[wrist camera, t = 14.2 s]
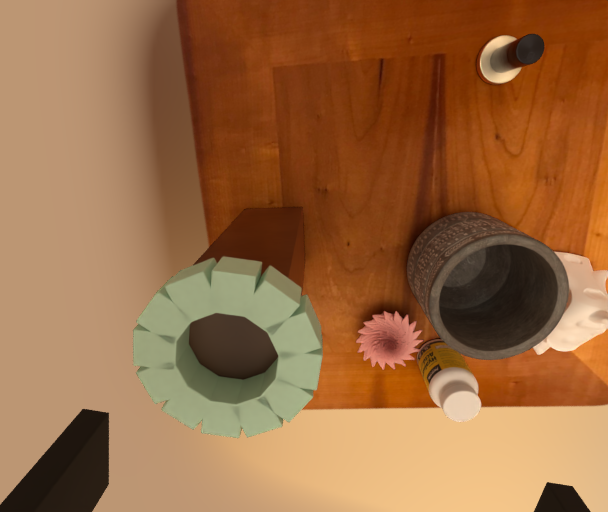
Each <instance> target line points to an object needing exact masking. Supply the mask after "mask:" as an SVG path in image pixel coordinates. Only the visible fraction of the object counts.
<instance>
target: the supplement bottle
mask: <svg viewBox="0 0 608 512" xmlns="http://www.w3.org/2000/svg"><path fill="white" fill-rule="evenodd" d="M420 350H421V351H419V352H418V354H417V363H418V366H419V369H420V371H421V374H422V376H423V379H424V381H425V384H426V386H427V389H428V392H429V394H430V396H431V398H432V400H433V401H434V403H435V404H437V405H438V406H439V407H441V408H442V409H443V411H444V413H445V415H446V416H447V417H448V418H449V419H451V420H453V421H458V422H464V421H468V420H471V419H473V418H474V417H475V416H476V415H477V414H478V413H479V411H480V409H481V401H480V399H479V397H478V395H477V394H478V383H477V381H476V379H475V377H474V375H473V373H472V372H471V370H470V368H469V367H468V365H467V364H466V362H465V360H464V359H463V357H462V355H461V354H460V353H459V352H457V351H455V350H454V349H452V348H451V347H449V346H448V345H447V344H446V343H445V342H444V341H443V340H442V339H435V340H431V341H429V342H427V343H425V344H424V345H423V346H422V347H421V348H420Z"/></svg>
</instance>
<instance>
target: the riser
mask: <svg viewBox="0 0 608 512" xmlns="http://www.w3.org/2000/svg"><path fill="white" fill-rule="evenodd" d="M223 256H224V257H231V258H238V259H246V260H253V261H260V262H262V270H261V276H262V274H263V273H264V272H265V271H266V269H267V268H268V267H269V266H270V265H271V266H272V267H274V268H275V269H276V270H278V271H279V272H280V273H282V274H283V275H285V276H286V277H287V278H289V279H290V280H291V281H293V282H294V283H296V284H297V285H298V286H300V287H301V288H303V278H304V268H305V246H304V222H303V207H284V208H255V209H244V210H243V212H242V213H241V214H240V215H239V216H238V217H237V218H236V219H235V220H234V221H233V222H232V223H231V225H230V226H229V227H228V228H227V229H226V230H225V231H224V232H223V233H222V234H221V235H220V236H219V237H218V239H217V240H216V241H215V242H214V243H213V244H212V245H211V246H210V247H209V248H208V249H207V251H206V252H205V253H204V254H203V255H202V256H201V257H200V258H199V259H198V260H197V261H196V262H195V264H194V265H196V264H198V263H201V262H203V261H206V260H208V259H211V258H215V260H216V262H217V263H218V262H219V261H220V259H221V258H222V257H223ZM301 296H302V289H301ZM189 345H190V347H191V349H192V350H193V352H194V354H195V356H196V358H197V359H198V361H199V363H200V364H201V365H203V366H204V367H206V368H207V369H209V370H210V371H212V372H213V373H215V374H216V375H218V376H220V377H227V378H235V379H242V380H244V379H247V378H250V377H253V376H256V375H259V374H262V373H265V372H266V371H267V370H268V368H269V367H270V366H271V365H272V364H273V363H274V362H275V360H276V359H277V358H278V354H277V352H276V349H275V347H274V345H273V343H272V341H271V339H270V337H269V335H268V333H267V332H266V331H264V330H263V329H261V328H260V327H259V326H257V325H256V324H254V323H253V322H251V321H250V320H248V319H247V318H246V317H243V316H235V315H228V314H221V313H214V314H212V315H209V316H206V317H204V318H201V319H198V320H196V321H193V322H191V324H190V330H189Z"/></svg>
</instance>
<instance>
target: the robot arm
mask: <svg viewBox="0 0 608 512" xmlns="http://www.w3.org/2000/svg"><path fill="white" fill-rule="evenodd" d="M108 484H109V413H106V412H100V411H93V410H87V409H82V411H81V412H80V413H79V414H78V415H77V416H76V418H75V419H74V420H73V421H72V422H71V424H70V425H69V426H68V427H67V428H66V429H65V430H64V432H63V433H62V434H61V435H60V436H59V437H58V438H57V440H56V441H55V442H54V443H53V444H52V445H51V447H50V448H49V449H48V450H47V451H46V452H45V454H44V455H43V456H42V457H41V458H40V459H39V460H38V462H37V463H36V464H35V465H34V466H33V468H32V469H31V470H30V471H29V472H28V473H27V474H26V476H25V477H24V478H23V479H22V480H21V481H20V483H19V484H18V485H17V486H16V487H15V488H14V490H13V491H12V492H11V493H10V494H9V495H8V496H7V498H6V499H5V500H4V501H3V502H2V504H1V505H0V512H92V511H93V509H94V508H95V506H96V504H97V503H98V501H99V499H100V498H101V496H102V495H103V493H104V491H105V489H106V488H107V486H108ZM534 512H590V510H589V509H588V508H587V506H586V505H585V503H584V502H583V500H582V499H581V498H580V496H579V495H578V493H577V492H576V491H575V489H574V488H573V486H567V485H561V484H555V483H549V482H547V484H546V486H545V488H544V490H543V493H542V495H541V497H540V499H539V502H538V504H537V506H536V508H535V511H534Z"/></svg>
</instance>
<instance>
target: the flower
mask: <svg viewBox="0 0 608 512" xmlns="http://www.w3.org/2000/svg"><path fill="white" fill-rule="evenodd" d="M416 322H417V321H415V322H413V323H412V324H410V325H409V319H408V314H406V316H405V317H404V319H403V318H402V317H401V316H400V315H399V314H398V312H397V311H395V314H392V313H387V312H386V311H384V313H382V314H381V315H373V319H372V320H370V321H366V322H363V323H364V324H365V325H366V326H365V327H363V328H362V329H361V330H359V331H358V333H361V335H360V337H359V338H358V339H357V340H356V343H362V344H361V346H360V348H359V350H358V352H362V351H365V352H364V358H363V360H364V361H365V360H366V359H368V358H369V357H370V359H371V363H372V367H373V366H374V365H375V364H376V362H378V363H379V365H380V366H381V368H382V369H383V370H384V368H385V362H386V363H387V364H388V365H390V366H391V367H392V368H393V369H395V364H394V363H398V364H402V365H403V366H406V365H405V363H404V361H403V360H414V359H415V358H413V357H412V356H411V355H409V354H410V353H413V352H418V351H421V350H420V349H417V348H414V347H415V346H416V345H418V344H419V343H420V342H423V341H424V340H416V338H417V337H418V335H419V334H420V333H421V331H422V330H418V331H416V332H413V331H414V328H415V325H416Z"/></svg>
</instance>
